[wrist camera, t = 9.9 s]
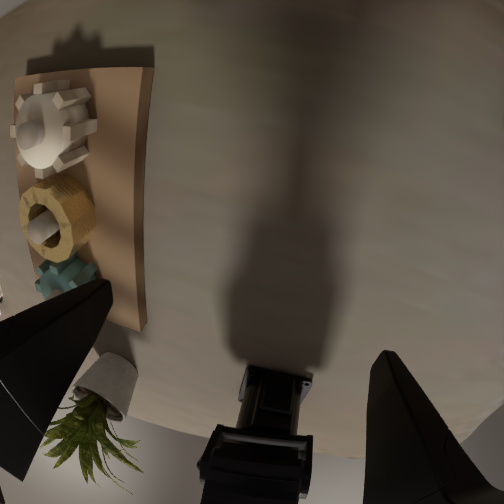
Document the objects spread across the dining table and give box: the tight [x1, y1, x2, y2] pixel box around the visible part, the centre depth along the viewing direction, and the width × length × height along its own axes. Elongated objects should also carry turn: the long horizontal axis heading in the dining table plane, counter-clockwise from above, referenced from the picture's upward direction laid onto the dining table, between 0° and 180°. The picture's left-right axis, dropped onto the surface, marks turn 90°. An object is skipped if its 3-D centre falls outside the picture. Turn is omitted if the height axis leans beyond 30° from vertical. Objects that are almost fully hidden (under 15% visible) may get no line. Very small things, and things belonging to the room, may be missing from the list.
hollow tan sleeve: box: [19, 173, 96, 263], centre depth 20 cm, size 6×6×3 cm
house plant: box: [41, 352, 142, 494], centre depth 27 cm, size 14×14×16 cm
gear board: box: [10, 67, 154, 332], centre depth 20 cm, size 22×13×6 cm, turn 170°
